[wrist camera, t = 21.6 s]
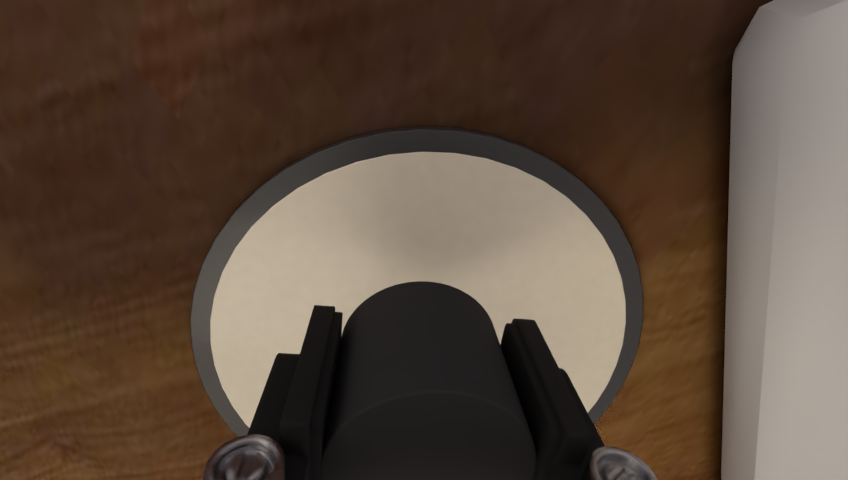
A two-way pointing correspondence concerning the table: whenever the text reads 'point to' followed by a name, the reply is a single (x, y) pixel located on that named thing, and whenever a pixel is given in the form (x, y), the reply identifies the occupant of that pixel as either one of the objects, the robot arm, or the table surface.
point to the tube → (788, 247)
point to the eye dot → (424, 393)
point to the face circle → (417, 256)
